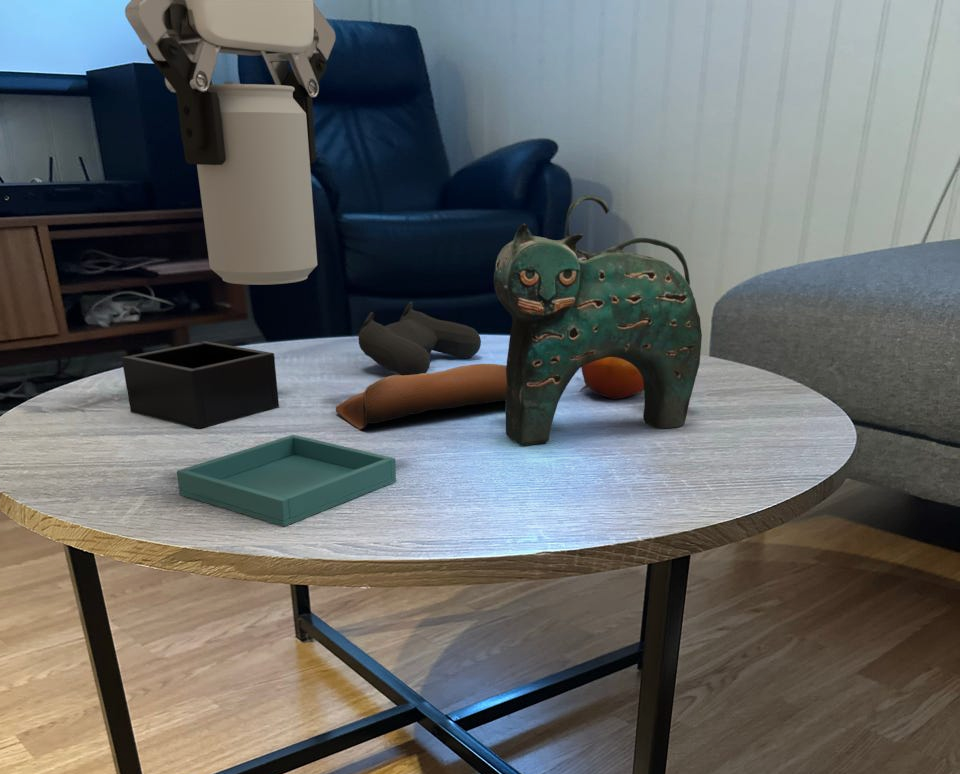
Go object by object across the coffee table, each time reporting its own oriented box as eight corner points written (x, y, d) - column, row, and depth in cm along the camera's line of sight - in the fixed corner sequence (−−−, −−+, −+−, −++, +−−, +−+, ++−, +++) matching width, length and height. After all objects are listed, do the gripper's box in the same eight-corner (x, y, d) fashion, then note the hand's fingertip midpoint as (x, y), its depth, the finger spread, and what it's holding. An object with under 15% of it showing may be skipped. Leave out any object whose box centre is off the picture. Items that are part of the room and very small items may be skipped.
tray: (284, 526, 65) (281, 500, 64) (179, 494, 71) (175, 470, 70) (396, 481, 74) (395, 458, 73) (295, 456, 80) (293, 434, 79)
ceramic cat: (507, 452, 81) (513, 197, 72) (480, 432, 86) (481, 193, 77) (701, 430, 88) (729, 194, 78) (664, 413, 93) (687, 190, 84)
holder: (199, 429, 87) (191, 371, 85) (130, 412, 92) (121, 357, 90) (279, 406, 94) (274, 352, 92) (211, 392, 100) (205, 341, 97)
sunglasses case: (483, 386, 100) (501, 335, 95) (513, 432, 98) (534, 383, 92) (328, 407, 92) (338, 354, 87) (356, 459, 89) (369, 407, 84)
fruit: (602, 366, 105) (635, 307, 99) (644, 414, 103) (680, 356, 97) (550, 376, 101) (581, 314, 95) (593, 426, 98) (627, 367, 92)
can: (339, 276, 68) (327, 84, 62) (270, 289, 62) (249, 79, 56) (261, 269, 71) (242, 86, 65) (188, 281, 65) (160, 81, 60)
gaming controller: (469, 374, 119) (410, 326, 120) (491, 336, 115) (429, 287, 116) (403, 402, 106) (337, 349, 107) (425, 361, 102) (356, 305, 103)
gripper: (283, -134, 63) (304, 161, 71) (48, -204, 50) (108, 164, 59) (367, -151, 59) (380, 163, 67) (137, -231, 47) (187, 167, 55)
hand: (253, 161), depth 63 cm, fingers closed on can, 7 cm apart
